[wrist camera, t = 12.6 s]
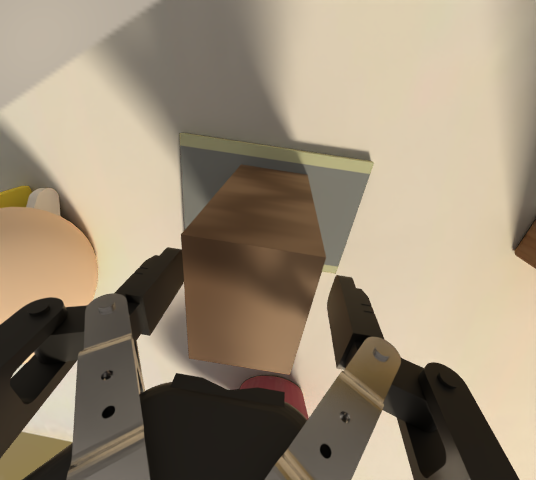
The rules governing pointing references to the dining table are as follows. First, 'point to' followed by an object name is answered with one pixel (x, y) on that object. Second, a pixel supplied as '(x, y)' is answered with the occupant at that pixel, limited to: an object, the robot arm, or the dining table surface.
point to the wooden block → (528, 246)
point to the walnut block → (252, 270)
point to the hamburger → (41, 253)
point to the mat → (312, 164)
